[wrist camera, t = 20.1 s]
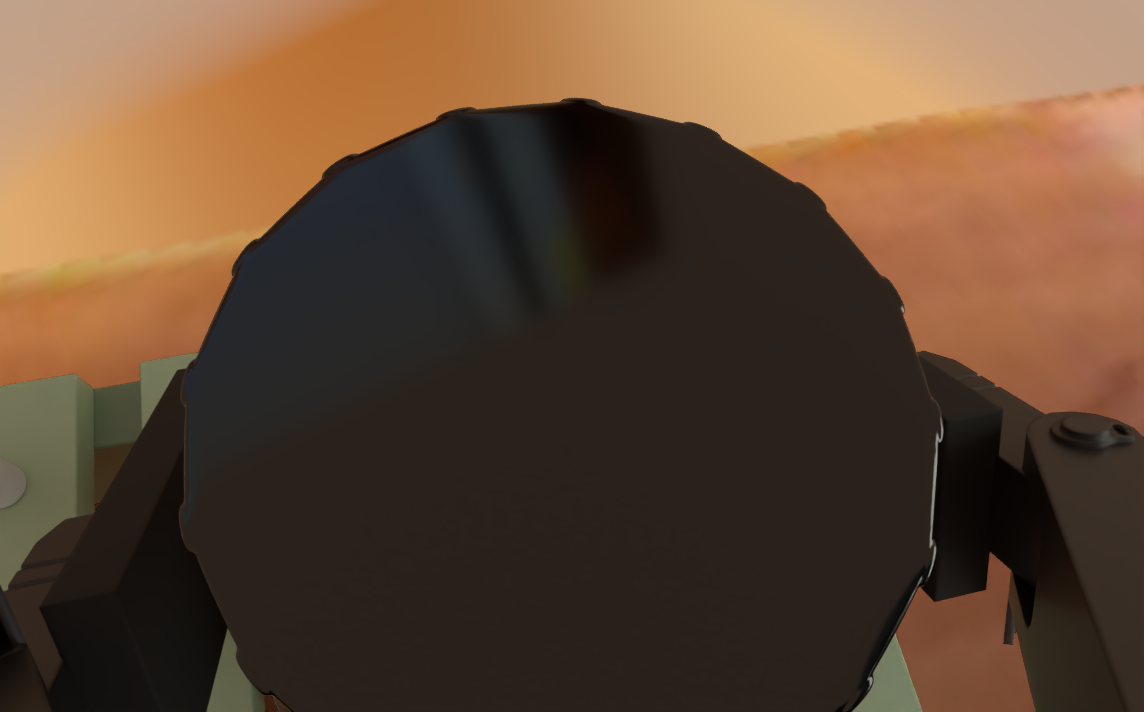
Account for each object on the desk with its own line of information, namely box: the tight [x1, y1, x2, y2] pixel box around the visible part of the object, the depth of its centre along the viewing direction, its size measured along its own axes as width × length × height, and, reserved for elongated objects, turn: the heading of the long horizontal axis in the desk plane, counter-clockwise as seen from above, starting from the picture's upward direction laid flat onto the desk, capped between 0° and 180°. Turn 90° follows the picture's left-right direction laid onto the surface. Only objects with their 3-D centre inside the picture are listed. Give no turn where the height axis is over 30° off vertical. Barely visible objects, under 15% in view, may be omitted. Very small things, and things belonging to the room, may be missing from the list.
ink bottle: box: [179, 98, 944, 712], centre depth 13 cm, size 10×9×12 cm
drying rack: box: [0, 352, 923, 712], centre depth 18 cm, size 20×14×12 cm
